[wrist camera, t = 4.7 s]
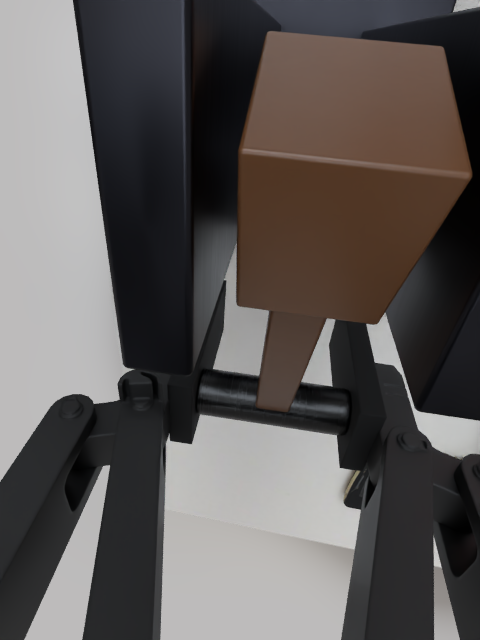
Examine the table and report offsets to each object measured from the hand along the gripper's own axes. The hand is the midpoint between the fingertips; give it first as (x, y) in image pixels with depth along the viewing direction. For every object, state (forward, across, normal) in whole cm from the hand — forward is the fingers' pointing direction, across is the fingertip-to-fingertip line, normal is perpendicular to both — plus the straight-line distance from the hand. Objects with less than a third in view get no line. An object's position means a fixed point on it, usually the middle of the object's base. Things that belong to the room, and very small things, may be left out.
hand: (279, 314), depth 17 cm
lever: (-6, 0, +5) cm, 8 cm away
